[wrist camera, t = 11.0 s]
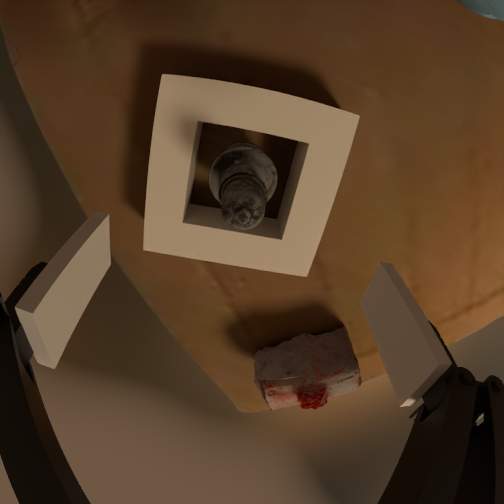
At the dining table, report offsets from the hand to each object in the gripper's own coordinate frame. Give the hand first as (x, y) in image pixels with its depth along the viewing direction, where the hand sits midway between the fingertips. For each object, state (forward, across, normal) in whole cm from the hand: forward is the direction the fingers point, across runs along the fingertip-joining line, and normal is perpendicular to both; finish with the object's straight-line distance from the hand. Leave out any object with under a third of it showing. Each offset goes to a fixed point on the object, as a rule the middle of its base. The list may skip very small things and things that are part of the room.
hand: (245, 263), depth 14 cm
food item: (+17, +13, -24) cm, 32 cm away
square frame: (+17, 0, 0) cm, 17 cm away
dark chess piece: (+17, 0, 0) cm, 17 cm away
